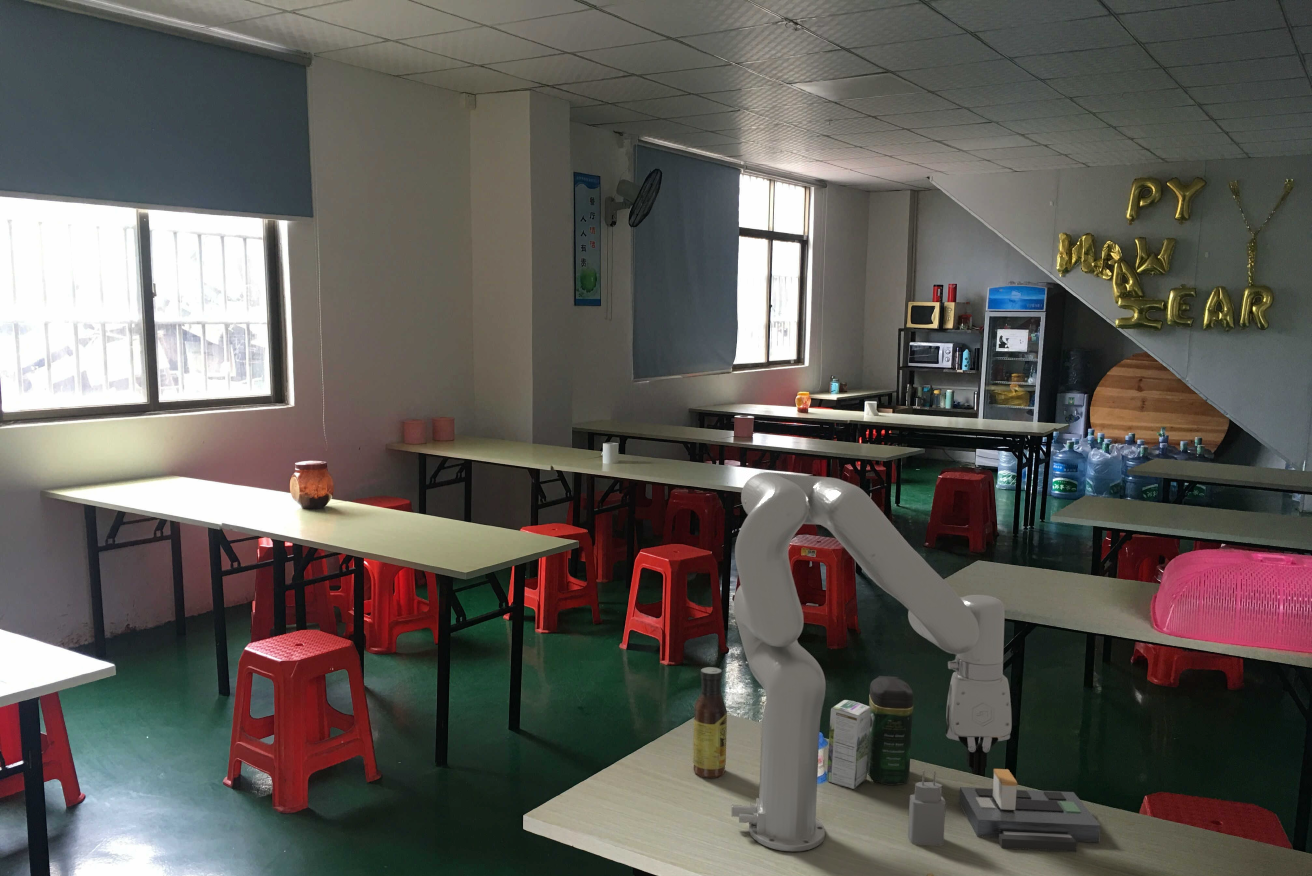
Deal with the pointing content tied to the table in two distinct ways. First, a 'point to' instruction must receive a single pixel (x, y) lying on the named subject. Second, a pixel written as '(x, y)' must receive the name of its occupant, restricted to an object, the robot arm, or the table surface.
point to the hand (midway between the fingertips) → (976, 770)
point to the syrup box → (848, 744)
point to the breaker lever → (1004, 789)
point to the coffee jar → (890, 730)
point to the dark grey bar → (1037, 841)
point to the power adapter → (927, 814)
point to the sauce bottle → (710, 726)
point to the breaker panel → (1029, 814)
